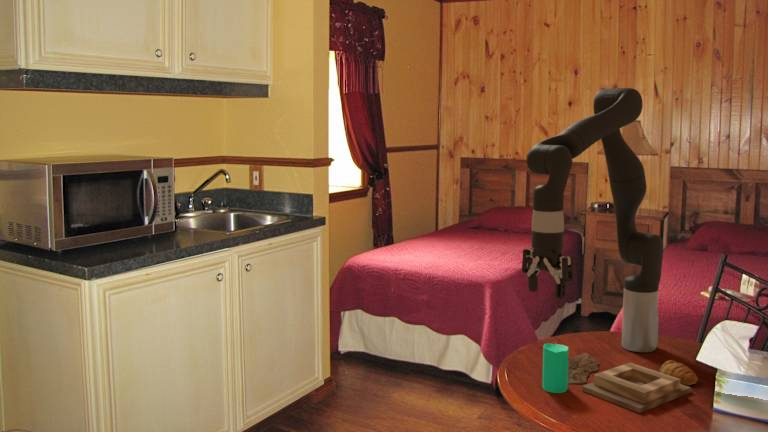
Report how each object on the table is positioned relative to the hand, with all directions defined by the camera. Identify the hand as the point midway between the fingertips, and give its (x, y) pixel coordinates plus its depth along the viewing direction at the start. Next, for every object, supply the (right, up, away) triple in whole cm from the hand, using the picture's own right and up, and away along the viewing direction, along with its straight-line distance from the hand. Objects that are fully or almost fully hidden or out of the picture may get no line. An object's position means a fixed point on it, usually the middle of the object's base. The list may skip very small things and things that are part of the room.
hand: (546, 294), depth 168 cm
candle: (+2, -23, +2) cm, 23 cm away
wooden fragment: (+11, -22, +15) cm, 29 cm away
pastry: (+35, -22, +7) cm, 42 cm away
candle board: (+21, -23, -1) cm, 32 cm away
